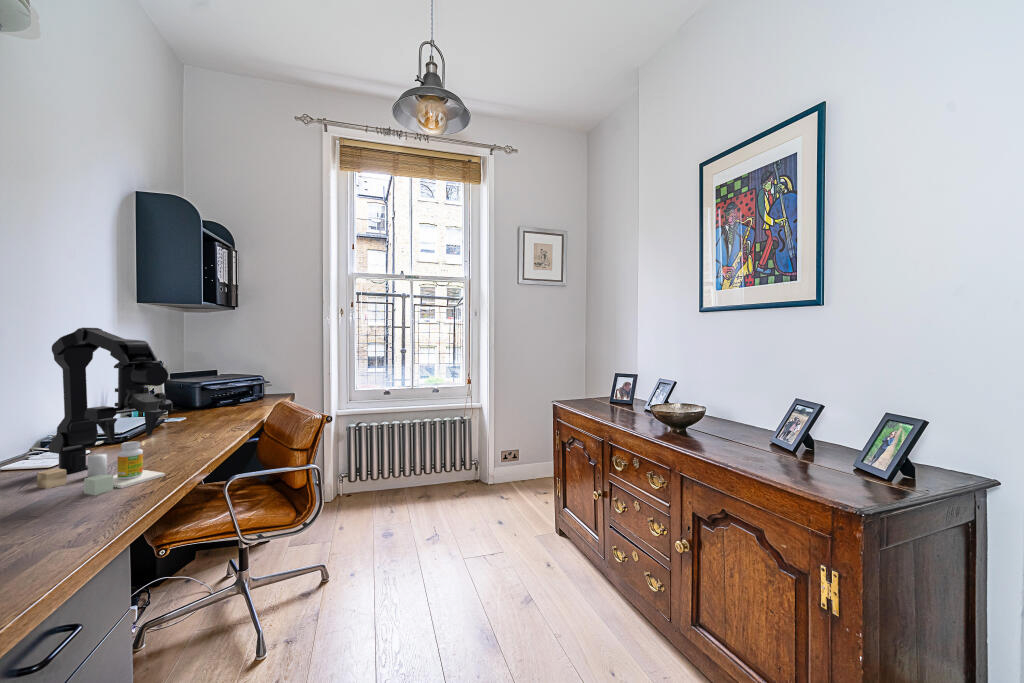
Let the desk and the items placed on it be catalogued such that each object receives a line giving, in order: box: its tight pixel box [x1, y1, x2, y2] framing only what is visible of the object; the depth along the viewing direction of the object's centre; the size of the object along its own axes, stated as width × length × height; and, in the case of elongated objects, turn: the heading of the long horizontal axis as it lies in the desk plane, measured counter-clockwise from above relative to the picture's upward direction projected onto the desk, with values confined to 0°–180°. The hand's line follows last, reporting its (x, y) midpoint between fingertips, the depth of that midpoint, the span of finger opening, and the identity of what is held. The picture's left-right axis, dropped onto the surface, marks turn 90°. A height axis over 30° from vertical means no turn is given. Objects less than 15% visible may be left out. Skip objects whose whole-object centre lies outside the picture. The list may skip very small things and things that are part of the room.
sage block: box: [83, 473, 114, 496], centre depth 111 cm, size 4×4×4 cm
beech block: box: [36, 467, 67, 490], centre depth 115 cm, size 4×4×4 cm
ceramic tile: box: [113, 469, 166, 489], centre depth 121 cm, size 11×11×1 cm
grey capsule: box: [87, 453, 108, 478], centre depth 123 cm, size 4×4×6 cm
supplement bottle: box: [116, 441, 144, 479], centre depth 121 cm, size 5×5×10 cm
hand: (131, 438), depth 120 cm, fingers open, 9 cm apart
